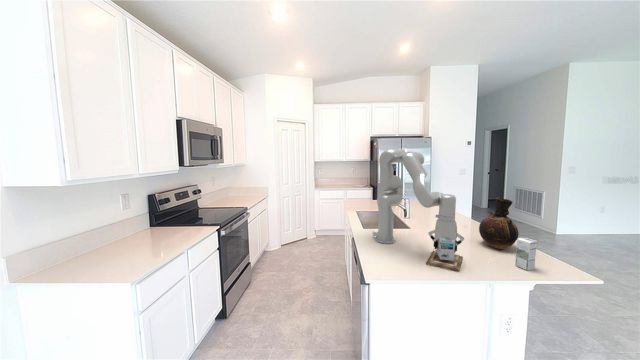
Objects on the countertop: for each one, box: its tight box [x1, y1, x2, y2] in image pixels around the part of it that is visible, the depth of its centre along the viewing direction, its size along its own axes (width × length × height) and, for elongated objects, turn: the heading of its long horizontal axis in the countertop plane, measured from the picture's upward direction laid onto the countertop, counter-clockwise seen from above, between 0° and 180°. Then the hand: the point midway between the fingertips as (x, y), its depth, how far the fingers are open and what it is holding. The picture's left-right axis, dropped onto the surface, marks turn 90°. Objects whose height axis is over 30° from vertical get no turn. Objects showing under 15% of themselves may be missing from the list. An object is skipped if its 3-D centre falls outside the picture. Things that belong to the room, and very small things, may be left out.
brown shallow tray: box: [425, 249, 464, 273], centre depth 131 cm, size 15×18×2 cm
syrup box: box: [514, 237, 538, 272], centre depth 122 cm, size 6×6×14 cm
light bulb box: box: [435, 238, 455, 261], centre depth 130 cm, size 11×7×11 cm, turn 166°
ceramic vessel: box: [478, 197, 519, 250], centre depth 148 cm, size 21×18×30 cm
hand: (445, 250), depth 130 cm, fingers closed on light bulb box, 8 cm apart
